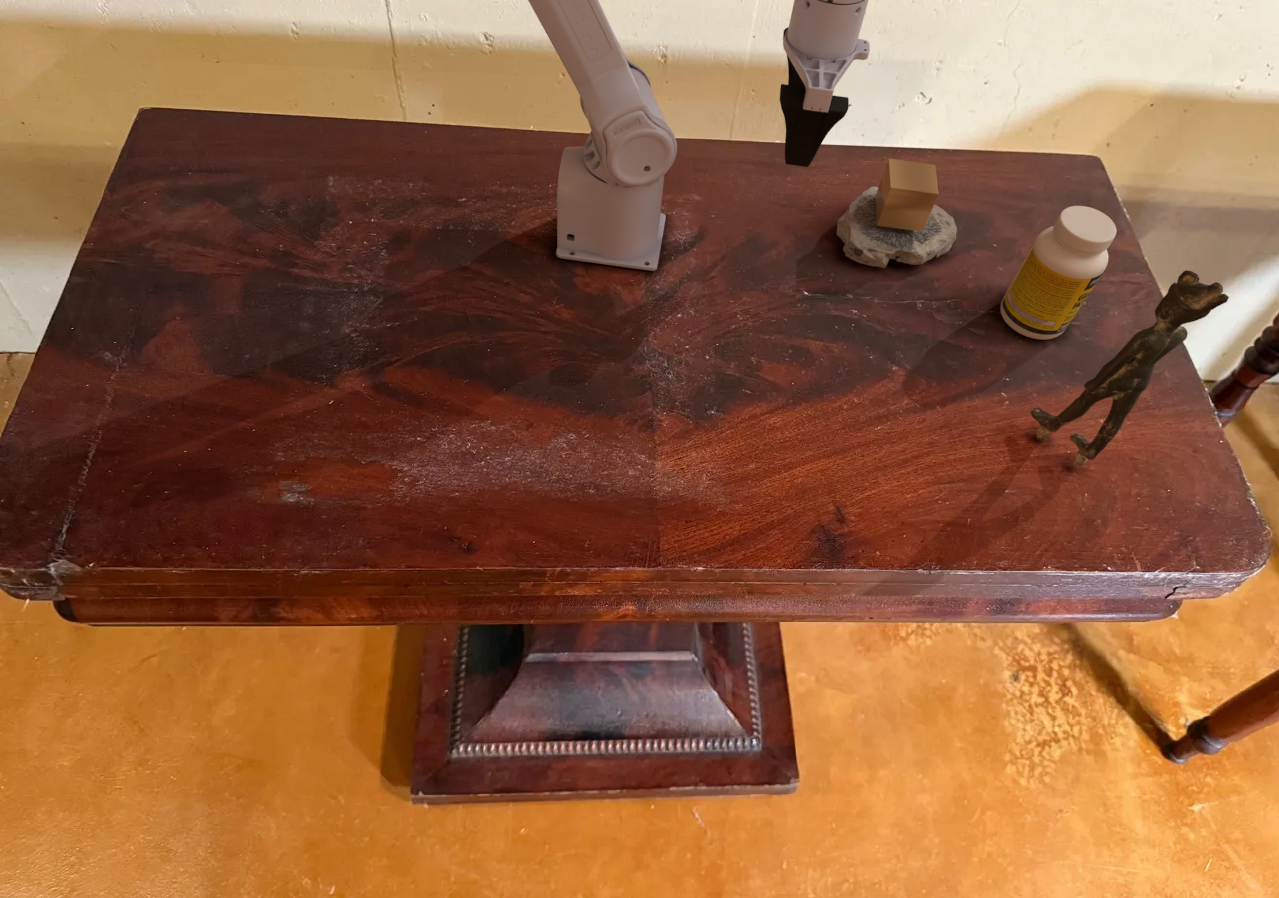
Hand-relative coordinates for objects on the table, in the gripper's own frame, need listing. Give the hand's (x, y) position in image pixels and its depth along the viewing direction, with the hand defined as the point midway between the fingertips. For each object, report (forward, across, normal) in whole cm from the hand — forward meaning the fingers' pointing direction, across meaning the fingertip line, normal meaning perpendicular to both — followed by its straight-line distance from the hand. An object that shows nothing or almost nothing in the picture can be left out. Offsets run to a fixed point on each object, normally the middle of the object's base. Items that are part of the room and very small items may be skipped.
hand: (797, 137), depth 80 cm
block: (+6, 0, -11) cm, 13 cm away
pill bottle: (+10, -9, -24) cm, 27 cm away
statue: (+10, -24, -24) cm, 35 cm away
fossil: (+10, 0, -11) cm, 15 cm away
